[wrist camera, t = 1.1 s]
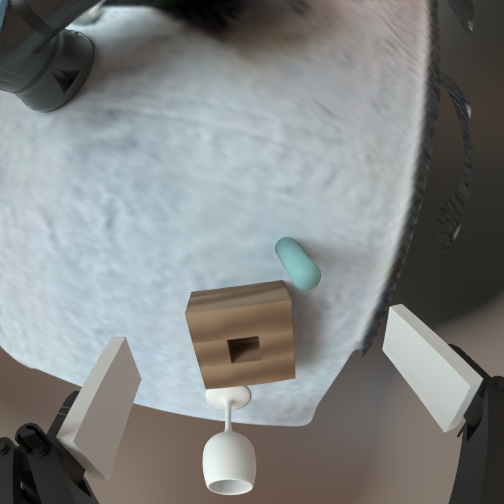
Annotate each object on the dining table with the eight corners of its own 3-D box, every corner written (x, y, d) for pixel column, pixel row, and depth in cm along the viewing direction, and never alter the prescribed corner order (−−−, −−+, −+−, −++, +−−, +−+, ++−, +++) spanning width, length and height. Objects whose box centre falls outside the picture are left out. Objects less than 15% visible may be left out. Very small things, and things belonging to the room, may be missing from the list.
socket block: (191, 292, 42) (185, 313, 35) (282, 280, 42) (291, 299, 36) (208, 362, 46) (206, 389, 39) (287, 352, 46) (295, 378, 40)
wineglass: (219, 374, 47) (217, 471, 26) (258, 390, 48) (272, 482, 28) (197, 400, 48) (190, 489, 28) (235, 414, 50) (240, 500, 30)
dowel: (274, 238, 40) (291, 264, 29) (295, 236, 41) (320, 260, 29) (276, 259, 41) (293, 292, 30) (297, 256, 41) (321, 288, 30)
